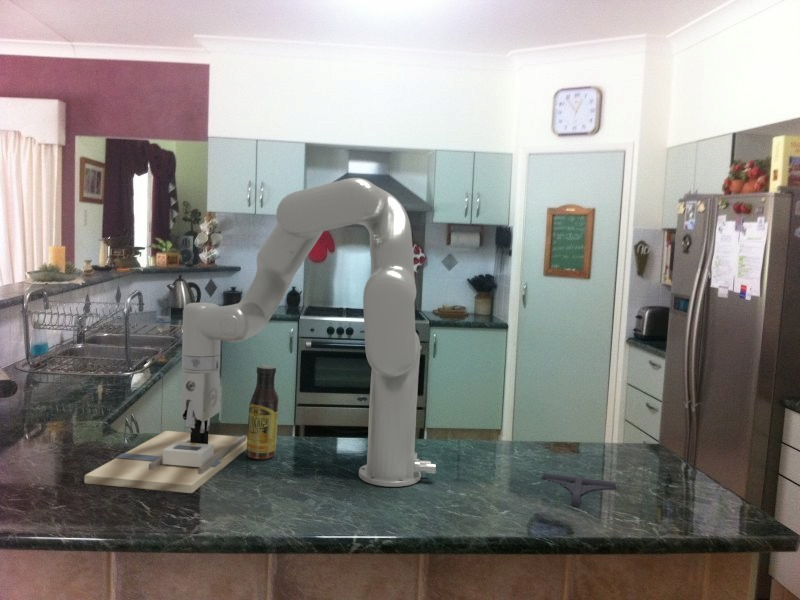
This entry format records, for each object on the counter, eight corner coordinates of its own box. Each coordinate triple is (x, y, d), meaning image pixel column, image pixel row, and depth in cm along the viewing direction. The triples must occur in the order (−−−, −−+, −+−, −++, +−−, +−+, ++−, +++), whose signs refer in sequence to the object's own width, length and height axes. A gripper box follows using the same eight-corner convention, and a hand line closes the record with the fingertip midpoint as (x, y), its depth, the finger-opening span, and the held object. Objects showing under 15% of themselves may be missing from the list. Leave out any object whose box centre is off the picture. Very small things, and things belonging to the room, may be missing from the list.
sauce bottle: (240, 458, 144) (243, 366, 143) (257, 450, 150) (259, 362, 148) (266, 463, 142) (269, 369, 140) (282, 455, 147) (285, 365, 146)
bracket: (535, 504, 127) (536, 490, 126) (543, 479, 141) (544, 466, 140) (615, 517, 122) (616, 502, 122) (615, 490, 136) (616, 476, 136)
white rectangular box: (176, 454, 138) (176, 440, 138) (213, 458, 137) (214, 444, 137) (162, 463, 132) (162, 449, 132) (201, 467, 131) (201, 452, 131)
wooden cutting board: (252, 444, 154) (252, 433, 154) (191, 493, 123) (191, 479, 122) (165, 437, 157) (165, 426, 157) (84, 483, 125) (84, 470, 125)
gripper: (203, 370, 130) (201, 462, 132) (232, 358, 145) (230, 441, 146) (166, 367, 131) (164, 459, 133) (199, 356, 146) (197, 439, 147)
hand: (199, 450), depth 139 cm, fingers closed
